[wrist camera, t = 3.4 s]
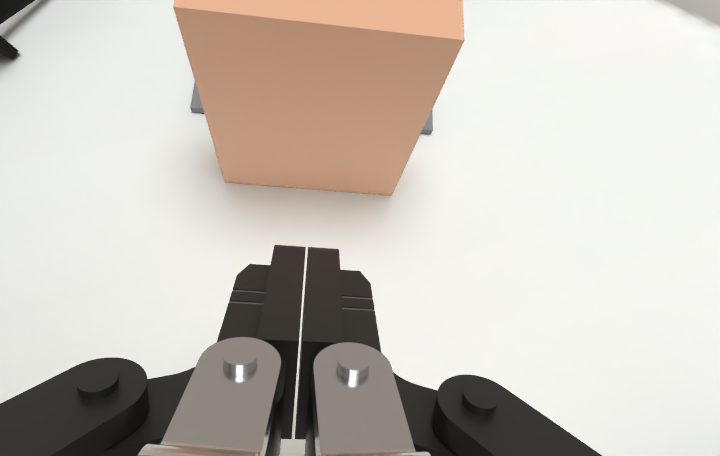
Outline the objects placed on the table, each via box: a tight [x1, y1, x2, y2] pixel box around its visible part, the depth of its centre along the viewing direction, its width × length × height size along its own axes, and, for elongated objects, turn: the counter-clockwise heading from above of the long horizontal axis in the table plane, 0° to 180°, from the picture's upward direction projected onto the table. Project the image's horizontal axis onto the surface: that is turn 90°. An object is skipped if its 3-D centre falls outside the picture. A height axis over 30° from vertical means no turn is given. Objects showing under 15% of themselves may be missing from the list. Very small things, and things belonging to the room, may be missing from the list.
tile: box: [173, 0, 464, 195], centre depth 25 cm, size 10×3×14 cm, turn 88°
